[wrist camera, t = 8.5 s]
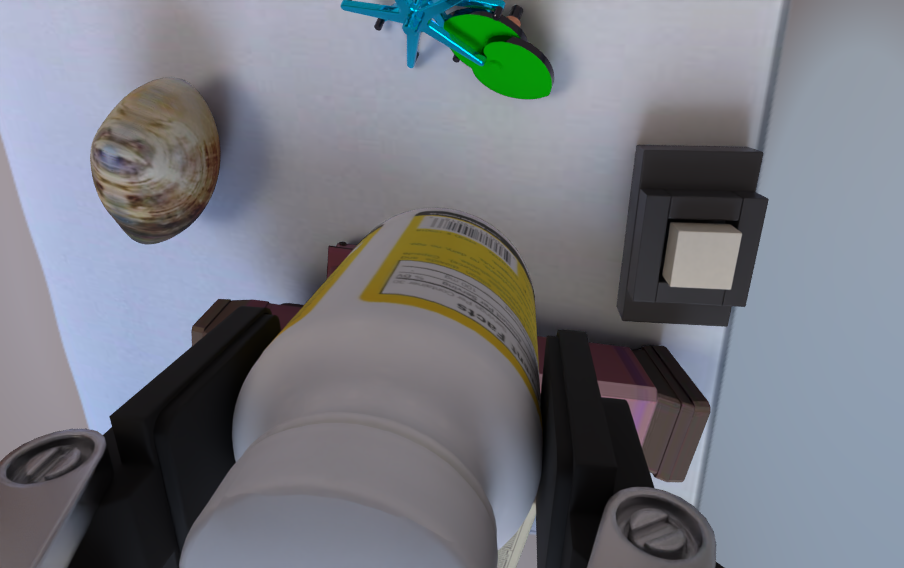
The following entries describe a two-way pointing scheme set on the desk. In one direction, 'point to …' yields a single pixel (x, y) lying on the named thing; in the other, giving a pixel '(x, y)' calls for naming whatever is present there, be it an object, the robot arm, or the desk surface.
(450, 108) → the desk surface
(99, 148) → the seashell
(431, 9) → the stick construction toy
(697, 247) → the key back
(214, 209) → the desk surface
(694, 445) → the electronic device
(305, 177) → the desk surface
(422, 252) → the supplement bottle
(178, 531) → the robot arm
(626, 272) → the dark gray block frame
